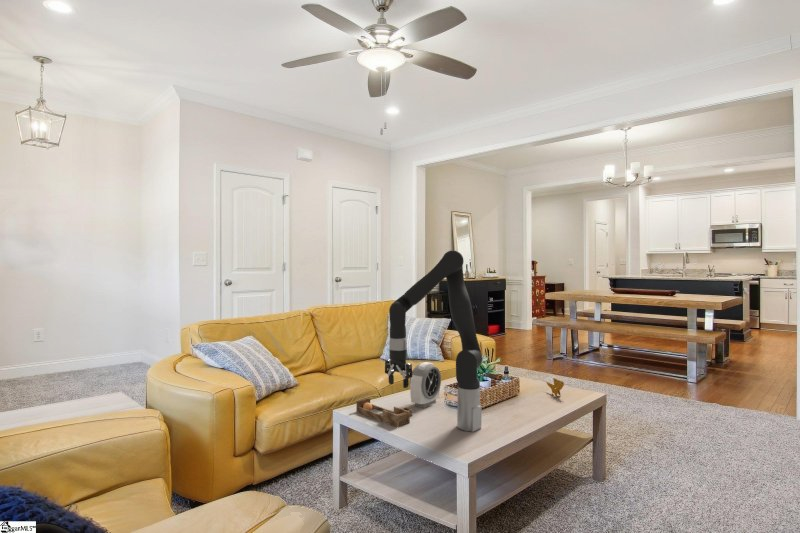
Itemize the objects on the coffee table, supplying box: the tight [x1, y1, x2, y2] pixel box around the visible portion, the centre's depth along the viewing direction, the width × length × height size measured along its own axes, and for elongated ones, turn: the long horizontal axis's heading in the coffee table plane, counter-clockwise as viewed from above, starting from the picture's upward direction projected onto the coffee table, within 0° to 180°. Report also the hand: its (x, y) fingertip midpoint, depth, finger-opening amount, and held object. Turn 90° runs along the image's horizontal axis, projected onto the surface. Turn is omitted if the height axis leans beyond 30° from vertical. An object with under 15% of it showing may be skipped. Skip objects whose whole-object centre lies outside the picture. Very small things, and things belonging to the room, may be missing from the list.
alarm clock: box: [409, 361, 442, 409], centre depth 218 cm, size 18×8×20 cm, turn 143°
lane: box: [355, 397, 411, 428], centre depth 199 cm, size 27×7×5 cm, turn 45°
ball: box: [363, 402, 372, 410], centre depth 206 cm, size 4×4×4 cm
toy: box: [545, 377, 565, 397], centre depth 235 cm, size 3×16×10 cm, turn 14°
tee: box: [402, 407, 413, 417], centre depth 202 cm, size 4×4×3 cm
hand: (398, 385), depth 192 cm, fingers open, 8 cm apart
